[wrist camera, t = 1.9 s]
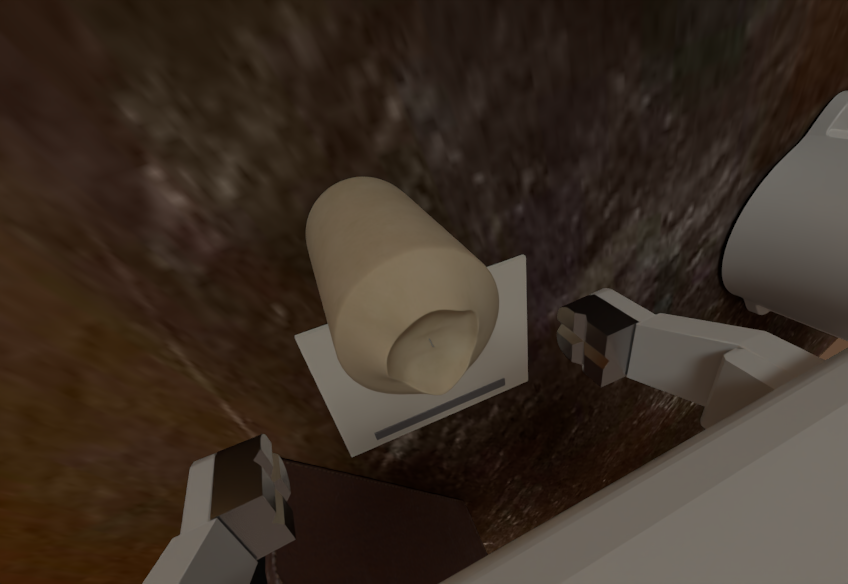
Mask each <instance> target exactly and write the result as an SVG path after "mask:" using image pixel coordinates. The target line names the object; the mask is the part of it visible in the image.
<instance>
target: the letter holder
mask: <svg viewBox="0 0 848 584" xmlns="http://www.w3.org/2000/svg"><path fill="white" fill-rule="evenodd" d="M282 461H283V463H284V466H285V468H286V471H287V474H288V478H289V482H290V490H291V494H290V496H289V498H288V500H287V503H288V504H289V506H290V507H291V509H292V510H293V516H294V526H295V535H296V540H294V541H292V542H290V543H288V544H286V545H284V546H283V547H281V548H279V549H277V550H275V551H273V552H271V553H269V554H267V555H266V556H264V557H262V558H260V559H258V560H256V561H257V562H258V563H257V566H256V569H255V571H254V574H253V576H252V579H251V581H250V584H439V583H440V582H442V581H444V580H446V579H447V578H449V577H451V576H452V575H454V574H456V573H458V572H459V571H461V570H463V569H465V568H466V567H468V566H470V565H472V564H473V563H475V562H477V561H478V560H480V559H482V558H484V557H485V556H487V555H488V554H487V552H486V550H485V548H484V545H483V543H482V541H481V539H480V536H479V534H478V531H477V529H476V527H475V524H474V522H473V520H472V518H471V515H470V513H469V511H468V509H467V507H466V505H465V503H464V501H463V500H458V499H454V498H449V497H445V496H442V495H437V494H432V493H428V492H424V491H419V490H415V489H411V488H407V487H403V486H398V485H395V484H391V483H386V482H381V481H377V480H374V479H370V478H364V477H360V476H355V475H351V474H348V473H344V472H339V471H335V470H329V469H326V468H321V467H316V466H312V465H308V464H303V463H299V462H294V461H291V460H286V459H282Z"/></svg>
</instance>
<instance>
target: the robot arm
mask: <svg viewBox="0 0 848 584" xmlns="http://www.w3.org/2000/svg"><path fill="white" fill-rule="evenodd" d="M722 279H723V283H724V285H725V287H726V289H727V290H728V291H729V292H730V293H732V294H734V295H737V296H739V297H742V298H743V299H744V302H745V305H746V308H747V309H748V310H749V311H751V312H754V313H756V314H759V315H764V314H766V313H768V312H769V311H772V312H775V313H777V314H780V315H783V316H785V317H788V318H790V319H793V320H795V321H798V322H800V323H803V324H805V325H808V326H810V327H813V328H815V329H818V330H820V331H823V332H826V333H828V334H831V335H833V336H836V337H838V338H841V339H844V340H846V341H848V91H843V92H841V93H839V94H838V95H837V96H835V97H834V98H833V99H832V101H831V102H830V103H829V104H828V105H827V107H826V108H825V109H824V111H823V112H822V113H821V115H820V116H819V117H818V119H817V120H816V122H815V123H814V124H813V126H812V127H811V129H810V130H809V131H808V133H807V134H806V136H805V137H804V138H803V139H802V140H801V141H800V142H799V143H798V144H797V145H796V146H795V147H794V148H793V149H792V150H791V151H790V152H789V153H788V154H787V155H786V156H785V157H784V158H783V159H782V160H781V161H780V162H779V163H778V164H777V165H776V166H775V167H774V168H773V170H772V171H771V172H770V173H769V174H768V175H767V177H766V178H765V179H764V180H763V182H762V183H761V184H760V185H759V187H758V188H757V189H756V191H755V192H754V194H753V195H752V197H751V198H750V200H749V201H748V203H747V204H746V206H745V207H744V209H743V211H742V213H741V214H740V216H739V218H738V220H737V222H736V224H735V226H734V228H733V230H732V233H731V235H730V238H729V240H728V243H727V246H726V249H725V253H724V257H723V263H722ZM557 320H558V321H560V322H561V323H562V324H561V326H560V328H559V329H558V331H557V342H558V344H559V347H560V349H561V351H562V352H563V354H564V355H565V356H566V357H567V358H568V359H569V360H570V361H571V362H574V363H578V364H581V365H582V368H583V372H584V373H585V374H586V375H587V376H588V377H590V378H591V379H592V380H593V381H594V382H595V383H597V384H598V385H599V386H600V387H603V386H605V385H607V384H610V383H612V382H614V381H616V380H618V379H620V378H623V377H625V376H627V377H628V378H630V379H633V380H636V381H638V382H641V383H644V384H646V385H649V386H652V387H654V388H657V389H660V390H662V391H665V392H668V393H670V394H673V395H676V396H679V397H681V398H684V399H687V400H689V401H692V402H695V403H697V404H700V405H703V406H705V408H704V411H703V414H702V417H701V425H702V426H703V427H704V428H706V430H704V431H702V432H701V433H699V434H697V435H695V436H694V437H692V438H690V439H688V440H687V441H685V442H683V443H682V444H680V445H678V446H676V447H675V448H673V449H671V450H669V451H668V452H666V453H664V454H662V455H661V456H659V457H657V458H656V459H654V460H652V461H650V462H649V463H647V464H645V465H643V466H642V467H640V468H638V469H636V470H635V471H633V472H631V473H629V474H628V475H626V476H624V477H623V478H621V479H619V480H617V481H616V482H614V483H612V484H610V485H609V486H607V487H605V488H603V489H602V490H600V491H598V492H596V493H595V494H593V495H591V496H590V497H588V498H586V499H584V500H583V501H581V502H579V503H577V504H576V505H574V506H572V507H570V508H569V509H567V510H565V511H564V512H562V513H560V514H558V515H557V516H555V517H553V518H551V519H550V520H548V521H546V522H544V523H543V524H541V525H539V526H537V527H536V528H534V529H532V530H531V531H529V532H527V533H525V534H524V535H522V536H520V537H518V538H517V539H515V540H513V541H511V542H510V543H508V544H506V545H505V546H503V547H501V548H499V549H498V550H496V551H494V552H492V553H491V554H489V555H487V556H485V557H484V558H482V559H480V560H478V561H477V562H475V563H473V564H472V565H470V566H468V567H466V568H465V569H463V570H461V571H459V572H458V573H456V574H454V575H452V576H451V577H449V578H447V579H446V580H444V581H442V582H440V583H439V584H848V348H846V349H844V350H843V351H841V352H839V353H838V354H836V355H834V356H832V357H831V358H829V359H827V360H823V359H821V358H819V357H817V356H815V355H813V354H811V353H809V352H807V351H805V350H803V349H801V348H799V347H797V346H795V345H793V344H791V343H789V342H787V341H785V340H783V339H781V338H779V337H776V336H774V335H772V334H770V333H768V332H766V331H761V330H756V329H750V328H744V327H738V326H732V325H727V324H721V323H715V322H709V321H703V320H698V319H692V318H686V317H680V316H674V315H668V314H663V313H659V314H657V315H655V314H653V313H651V312H650V311H648V310H646V309H645V308H643V307H641V306H639V305H638V304H636V303H634V302H632V301H631V300H629V299H627V298H626V297H624V296H622V295H620V294H619V293H617V292H615V291H613V290H612V289H608V288H604V289H601V290H599V291H597V292H594V293H592V294H590V295H588V296H585V297H583V298H581V299H579V300H576V301H574V302H572V303H569V304H567V305H565V306H562V307H560V309H559V311H558V318H557ZM290 494H291V490H290V482H289V478H288V474H287V471H286V468H285V466H284V463H283V461H282V459H281V458H280V456H279V455H278V454H275V453H272V447H271V442H270V441H269V439H268V438H267V436H266V435H265V434H261V435H259V436H256V437H254V438H251V439H249V440H246V441H244V442H241V443H239V444H236V445H234V446H231V447H229V448H226V449H224V450H221V451H219V452H217V453H215V454H212V455H210V456H207V457H205V458H202V459H200V460H197V461H195V462H193V464H192V466H191V468H190V470H189V477H188V484H187V491H186V498H185V505H184V512H183V519H182V526H181V533H180V535H179V536H177V537H174V538H172V540H171V541H170V543H169V544H168V546H167V547H166V549H165V550H164V552H163V553H162V555H161V556H160V558H159V559H158V561H157V562H156V564H155V565H154V567H153V568H152V570H151V571H150V573H149V574H148V576H147V577H146V579H145V580H144V582H143V583H142V584H250V581H251V579H252V576H253V574H254V571H255V569H256V566H257V563H258V562H257V561H256V560H258V559H260V558H262V557H264V556H266V555H267V554H269V553H271V552H273V551H275V550H277V549H279V548H281V547H283V546H284V545H286V544H288V543H290V542H292V541H294V540H296V535H295V526H294V516H293V510H292V509H291V507H290V506H289V504H288V503H287V500H288V498H289V496H290Z"/></svg>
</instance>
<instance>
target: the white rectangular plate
mask: <svg viewBox="0 0 848 584" xmlns="http://www.w3.org/2000/svg"><path fill="white" fill-rule="evenodd" d="M487 269H488V270H489V271H490V273H491V274H492V276H493V278H494V280H495V282H496V285H497V289H498V294H499V312H498V318H497V321H496V325H495V328H494V330H493V332H492V335H491V337H490V339H489V341H488V343H487V345H486V347H485V348H484V350H483V351H482V353H481V354H480V356H479V357H478V358H477V360H476V361H475V362H474V363H473V364H472V365H471V366H470V367H469V369H468V370H467V371H466V372H465V374H464V375H463V376H462V378H461V379H460V380H459V381H458V382H457V384H456V385H455V386H454V387H453V388H452V389H451V390H449V391H448V392H447V393H445V394H442V395H429V394H386V393H381V392H376V391H373V390H370V389H367V388H365V387H363V386H361V385H360V384H358V383H357V382H355V381H354V380H353V379H352V378H351V377H350V376H348V375H347V373H346V372H345V371H344V369H343V368H342V367H341V365H340V363H339V361H338V359H337V355H336V352H335V348H334V345H333V341H332V337H331V334H330V330H329V326H328V324H326V325H323V326H320V327H317V328H314V329H312V330H309V331H306V332H303V333H300V334H298V335H295V340H296V342H297V344H298V346H299V348H300V350H301V352H302V354H303V356H304V358H305V361H306V363H307V365H308V367H309V369H310V371H311V373H312V375H313V377H314V379H315V382H316V384H317V386H318V388H319V390H320V392H321V394H322V396H323V398H324V400H325V402H326V405H327V407H328V409H329V411H330V413H331V415H332V417H333V419H334V421H335V423H336V425H337V428H338V430H339V432H340V434H341V436H342V438H343V440H344V442H345V444H346V446H347V449H348V451H349V453H350V455H351V457H354V456H356V455H359V454H361V453H363V452H366V451H368V450H370V449H373V448H375V447H377V446H379V445H382V444H384V443H386V442H389V441H391V440H393V439H396V438H398V437H400V436H402V435H405V434H407V433H409V432H412V431H414V430H416V429H419V428H421V427H423V426H425V425H428V424H430V423H432V422H435V421H437V420H439V419H442V418H444V417H446V416H448V415H451V414H453V413H455V412H458V411H460V410H462V409H465V408H467V407H469V406H471V405H474V404H476V403H478V402H481V401H483V400H485V399H488V398H490V397H492V396H494V395H497V394H499V393H501V392H504V391H506V390H508V389H511V388H513V387H515V386H517V385H520V384H522V383H524V382H527V381H528V350H527V296H526V256H525V255H520V256H517V257H514V258H511V259H509V260H506V261H503V262H500V263H497V264H495V265H492V266H489V267H487Z"/></svg>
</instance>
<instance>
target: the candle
mask: <svg viewBox="0 0 848 584" xmlns="http://www.w3.org/2000/svg"><path fill="white" fill-rule="evenodd" d="M306 243H307V248H308V252H309V256H310V260H311V263H312V267H313V271H314V274H315V278H316V282H317V286H318V289H319V293H320V297H321V300H322V304H323V308H324V312H325V315H326V319H327V323H328V326H329V330H330V334H331V337H332V341H333V345H334V348H335V352H336V355H337V359H338V361H339V363H340V365H341V367H342V368H343V369H344V371H345V372H346V373H347V375H348V376H350V377H351V378H352V379H353V380H354V381H355V382H357V383H358V384H360V385H361V386H363V387H365V388H367V389H370V390H373V391H376V392H381V393H386V394H429V395H442V394H445V393H447V392H448V391H449V390H451V389H452V388H453V387H454V386H455V385H456V384H457V382H458V381H459V380H460V379H461V378H462V376H463V375H464V374H465V372H466V371H467V370H468V369H469V367H470V366H471V365H472V364H473V363H474V362H475V361H476V360H477V358H478V357H479V356H480V354H481V353H482V351H483V350H484V348H485V347H486V345H487V343H488V341H489V339H490V337H491V335H492V332H493V330H494V328H495V325H496V321H497V318H498V312H499V294H498V289H497V285H496V282H495V280H494V278H493V276H492V274H491V273H490V271H489V270H488V269H487V267H486V266H485V265H484V264H483V263H482V262H481V261H480V260H479V259H477V258H476V257H475V256H474V255H473V254H472V253H471V252H470V251H469V250H467V249H466V248H465V247H464V246H463V245H462V244H461V243H460V242H458V241H457V240H456V239H455V238H454V237H453V236H452V235H451V234H450V233H448V232H447V231H446V230H445V229H444V228H443V227H442V226H441V225H439V224H438V223H437V222H436V221H435V220H434V219H433V218H432V217H430V216H429V215H428V214H427V213H426V212H425V211H424V210H423V209H422V208H420V207H419V206H418V205H417V204H416V203H415V202H414V201H413V200H411V199H410V198H409V197H408V196H407V195H406V194H405V193H403V192H402V191H401V190H400V189H398V188H397V187H396V186H394V185H392V184H390V183H389V182H386V181H384V180H381V179H377V178H373V177H354V178H349V179H346V180H343V181H340V182H338V183H336V184H334V185H333V186H331V187H330V188H328V189H327V190H326V191H325V192H323V193H322V194H321V196H320V197H319V198H318V199H317V200H316V202H315V203H314V205H313V207H312V209H311V211H310V213H309V216H308V220H307V225H306Z"/></svg>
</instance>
